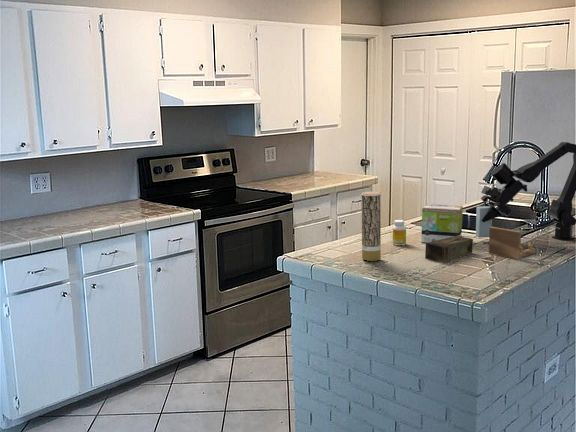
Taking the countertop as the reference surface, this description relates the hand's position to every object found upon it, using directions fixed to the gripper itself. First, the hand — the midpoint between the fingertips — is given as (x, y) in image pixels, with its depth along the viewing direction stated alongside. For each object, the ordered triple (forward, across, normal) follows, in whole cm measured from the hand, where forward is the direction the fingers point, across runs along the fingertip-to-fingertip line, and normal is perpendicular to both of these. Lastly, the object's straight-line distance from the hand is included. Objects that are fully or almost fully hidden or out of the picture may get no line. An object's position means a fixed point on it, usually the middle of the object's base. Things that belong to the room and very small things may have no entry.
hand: (480, 220), depth 246 cm
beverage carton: (+20, +19, -7) cm, 28 cm away
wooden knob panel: (+2, +19, +10) cm, 22 cm away
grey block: (+4, 0, +6) cm, 7 cm away
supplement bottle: (+29, -2, -17) cm, 34 cm away
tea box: (+17, -4, -4) cm, 18 cm away
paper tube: (+40, +20, -28) cm, 53 cm away
